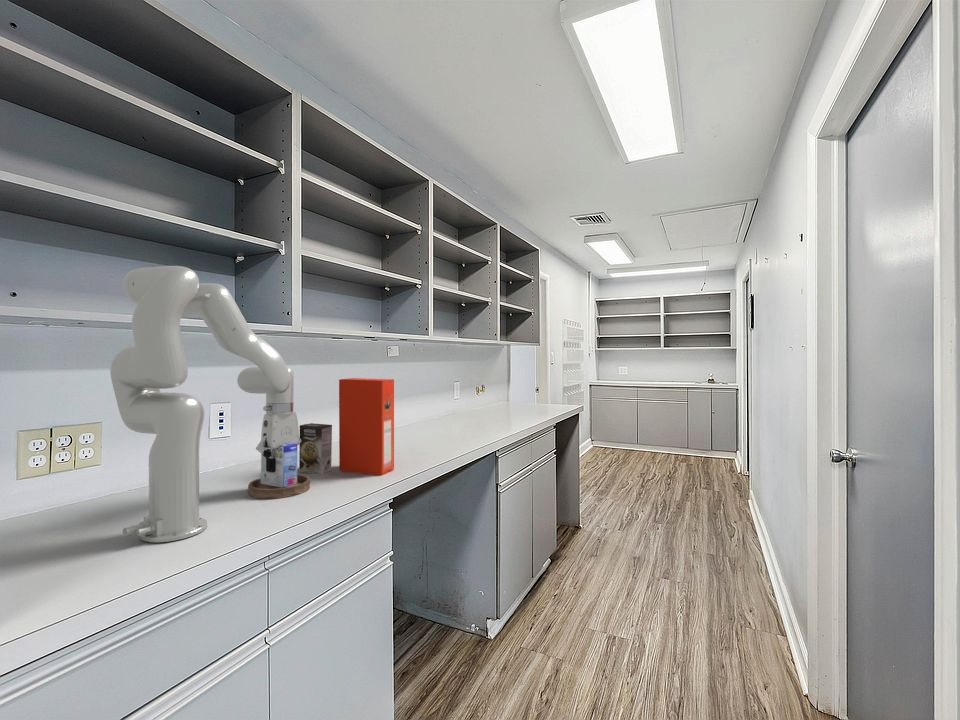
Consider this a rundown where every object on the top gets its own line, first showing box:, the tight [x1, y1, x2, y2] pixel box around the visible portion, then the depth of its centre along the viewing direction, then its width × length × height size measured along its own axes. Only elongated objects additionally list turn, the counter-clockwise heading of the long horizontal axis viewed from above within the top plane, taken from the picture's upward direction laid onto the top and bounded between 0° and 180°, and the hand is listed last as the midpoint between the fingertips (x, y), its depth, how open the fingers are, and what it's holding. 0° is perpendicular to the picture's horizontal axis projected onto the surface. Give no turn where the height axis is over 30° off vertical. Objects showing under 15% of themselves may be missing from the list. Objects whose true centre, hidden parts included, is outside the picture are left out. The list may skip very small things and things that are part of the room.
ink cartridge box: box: [260, 443, 298, 488], centre depth 135 cm, size 10×6×14 cm, turn 64°
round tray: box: [247, 473, 311, 500], centre depth 135 cm, size 17×17×3 cm
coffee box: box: [298, 422, 333, 475], centre depth 157 cm, size 9×6×16 cm
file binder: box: [338, 377, 395, 476], centre depth 158 cm, size 8×17×32 cm, turn 70°
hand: (279, 468), depth 135 cm, fingers closed on ink cartridge box, 5 cm apart
